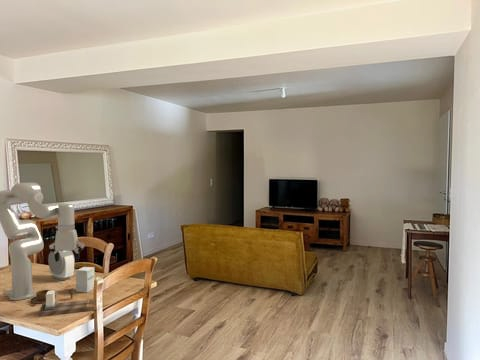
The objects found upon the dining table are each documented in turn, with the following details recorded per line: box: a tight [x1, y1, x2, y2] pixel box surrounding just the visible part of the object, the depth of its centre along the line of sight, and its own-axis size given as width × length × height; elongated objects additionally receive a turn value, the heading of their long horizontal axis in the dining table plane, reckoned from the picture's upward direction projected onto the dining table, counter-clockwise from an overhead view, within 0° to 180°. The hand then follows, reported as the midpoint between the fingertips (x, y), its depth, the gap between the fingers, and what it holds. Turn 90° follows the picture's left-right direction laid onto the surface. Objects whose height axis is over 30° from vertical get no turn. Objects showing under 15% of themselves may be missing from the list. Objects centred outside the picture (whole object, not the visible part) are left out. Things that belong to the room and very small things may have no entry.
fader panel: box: [38, 298, 95, 318], centre depth 175 cm, size 26×10×4 cm, turn 108°
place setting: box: [27, 288, 75, 307], centre depth 186 cm, size 18×20×6 cm
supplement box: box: [75, 266, 96, 294], centre depth 201 cm, size 7×7×13 cm
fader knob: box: [45, 290, 58, 310], centre depth 172 cm, size 4×7×7 cm, turn 18°
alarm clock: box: [47, 250, 76, 281], centre depth 223 cm, size 18×8×20 cm, turn 59°
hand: (67, 260), depth 180 cm, fingers open, 9 cm apart
